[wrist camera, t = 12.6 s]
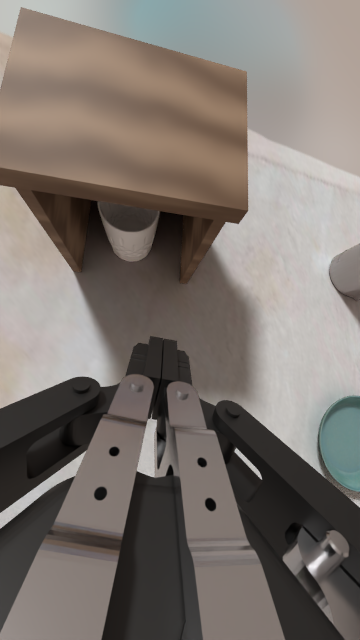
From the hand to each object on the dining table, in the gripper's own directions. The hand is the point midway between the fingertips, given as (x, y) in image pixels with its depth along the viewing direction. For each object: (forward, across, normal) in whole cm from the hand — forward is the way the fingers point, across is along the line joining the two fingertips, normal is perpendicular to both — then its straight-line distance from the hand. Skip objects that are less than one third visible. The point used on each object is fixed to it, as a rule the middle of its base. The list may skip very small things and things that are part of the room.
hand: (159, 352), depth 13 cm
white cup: (+30, +6, -1) cm, 31 cm away
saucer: (+16, -37, +20) cm, 45 cm away
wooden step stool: (+31, +6, -2) cm, 31 cm away
